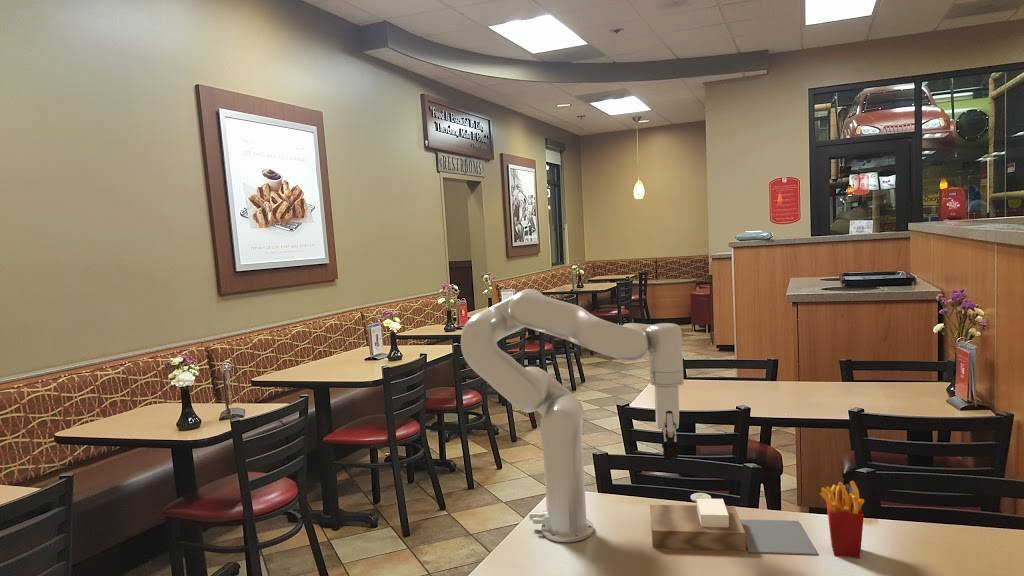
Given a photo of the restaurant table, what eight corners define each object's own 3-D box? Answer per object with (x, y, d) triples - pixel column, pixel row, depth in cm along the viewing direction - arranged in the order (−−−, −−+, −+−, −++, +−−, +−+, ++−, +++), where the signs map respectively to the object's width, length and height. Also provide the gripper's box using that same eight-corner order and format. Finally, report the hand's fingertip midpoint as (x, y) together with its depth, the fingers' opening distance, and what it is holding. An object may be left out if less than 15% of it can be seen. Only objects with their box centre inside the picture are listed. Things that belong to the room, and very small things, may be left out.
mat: (748, 552, 137) (748, 551, 137) (736, 520, 153) (736, 519, 153) (817, 554, 134) (817, 553, 134) (798, 521, 150) (798, 520, 150)
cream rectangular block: (701, 526, 142) (700, 514, 142) (697, 509, 151) (696, 498, 151) (729, 527, 141) (728, 515, 141) (723, 510, 150) (722, 498, 150)
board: (652, 547, 142) (651, 530, 142) (650, 520, 156) (649, 504, 155) (745, 550, 138) (745, 532, 138) (735, 522, 152) (734, 506, 152)
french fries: (866, 561, 131) (864, 491, 130) (822, 556, 134) (820, 488, 133) (858, 541, 139) (857, 475, 138) (817, 537, 142) (815, 473, 141)
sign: (690, 517, 156) (690, 492, 170) (690, 520, 156) (690, 495, 170) (712, 518, 154) (710, 493, 168) (712, 521, 154) (711, 496, 168)
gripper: (648, 369, 154) (652, 441, 156) (651, 386, 138) (654, 466, 139) (680, 369, 153) (683, 441, 154) (686, 385, 136) (690, 466, 137)
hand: (669, 452), depth 147 cm, fingers open, 6 cm apart
